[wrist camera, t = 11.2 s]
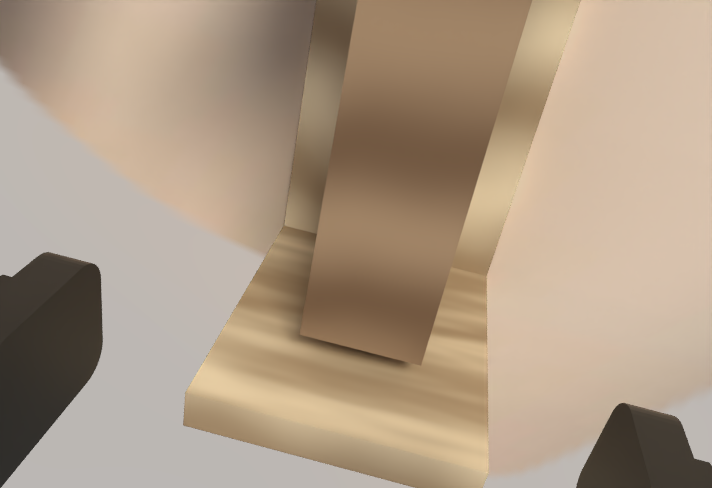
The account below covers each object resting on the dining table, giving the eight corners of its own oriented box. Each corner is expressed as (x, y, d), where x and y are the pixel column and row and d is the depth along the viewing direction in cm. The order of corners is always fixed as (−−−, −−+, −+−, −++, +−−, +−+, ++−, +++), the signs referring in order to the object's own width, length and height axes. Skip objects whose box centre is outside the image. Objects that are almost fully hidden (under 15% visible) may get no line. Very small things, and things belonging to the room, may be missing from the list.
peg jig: (364, -291, 22) (241, -478, 11) (654, -233, 22) (843, -368, 10) (284, 250, 33) (182, 435, 22) (475, 298, 33) (471, 513, 21)
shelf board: (413, -187, 19) (394, -209, 15) (560, -157, 19) (584, -170, 14) (328, 263, 27) (299, 334, 23) (431, 288, 27) (421, 365, 22)
